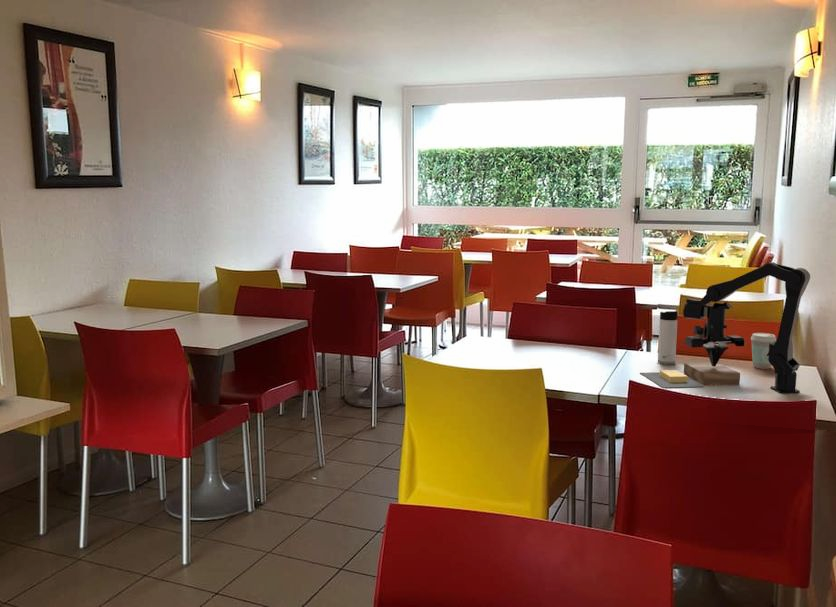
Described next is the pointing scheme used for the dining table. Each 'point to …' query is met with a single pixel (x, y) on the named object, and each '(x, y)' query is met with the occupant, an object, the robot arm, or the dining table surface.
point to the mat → (665, 384)
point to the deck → (711, 374)
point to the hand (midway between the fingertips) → (713, 366)
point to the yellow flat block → (673, 376)
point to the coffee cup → (761, 349)
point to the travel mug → (667, 337)
